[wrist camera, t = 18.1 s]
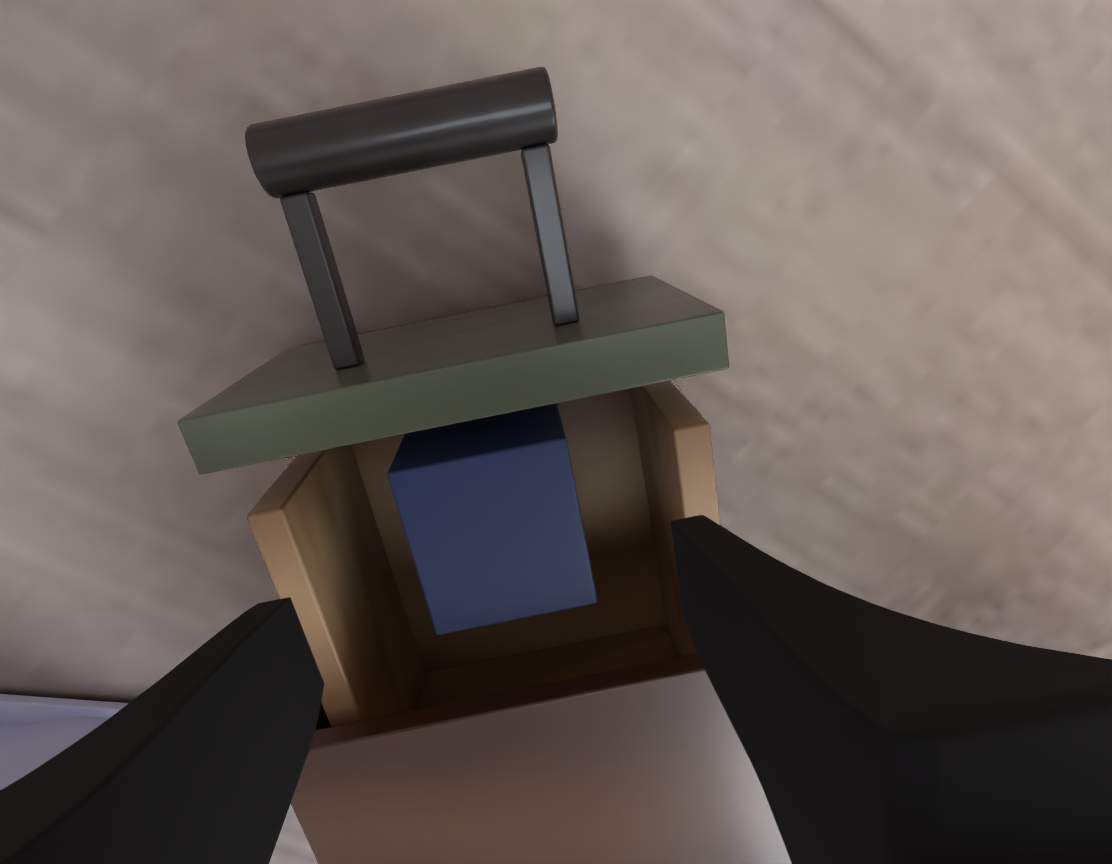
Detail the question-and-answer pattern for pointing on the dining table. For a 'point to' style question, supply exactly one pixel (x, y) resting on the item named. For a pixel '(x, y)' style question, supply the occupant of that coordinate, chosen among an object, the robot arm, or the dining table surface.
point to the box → (493, 519)
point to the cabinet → (543, 778)
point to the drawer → (463, 420)
